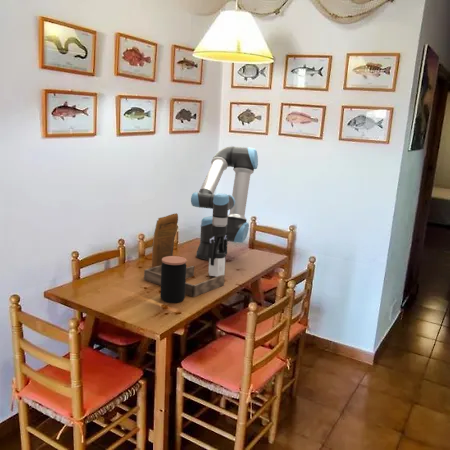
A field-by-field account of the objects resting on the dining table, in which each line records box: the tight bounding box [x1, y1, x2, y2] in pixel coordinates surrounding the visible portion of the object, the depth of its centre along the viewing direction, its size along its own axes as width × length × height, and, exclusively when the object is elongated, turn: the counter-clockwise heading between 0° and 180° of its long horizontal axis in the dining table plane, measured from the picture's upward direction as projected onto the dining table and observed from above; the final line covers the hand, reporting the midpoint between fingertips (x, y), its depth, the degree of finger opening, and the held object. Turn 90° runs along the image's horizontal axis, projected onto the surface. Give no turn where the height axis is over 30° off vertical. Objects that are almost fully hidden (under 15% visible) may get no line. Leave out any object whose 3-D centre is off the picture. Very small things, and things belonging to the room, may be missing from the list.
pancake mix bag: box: [151, 213, 179, 268], centre depth 244 cm, size 7×19×28 cm, turn 144°
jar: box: [207, 250, 226, 278], centre depth 234 cm, size 9×8×12 cm
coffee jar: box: [160, 255, 187, 304], centre depth 200 cm, size 11×11×18 cm
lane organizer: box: [143, 265, 225, 298], centre depth 224 cm, size 22×32×5 cm
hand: (216, 269), depth 234 cm, fingers closed on jar, 5 cm apart
